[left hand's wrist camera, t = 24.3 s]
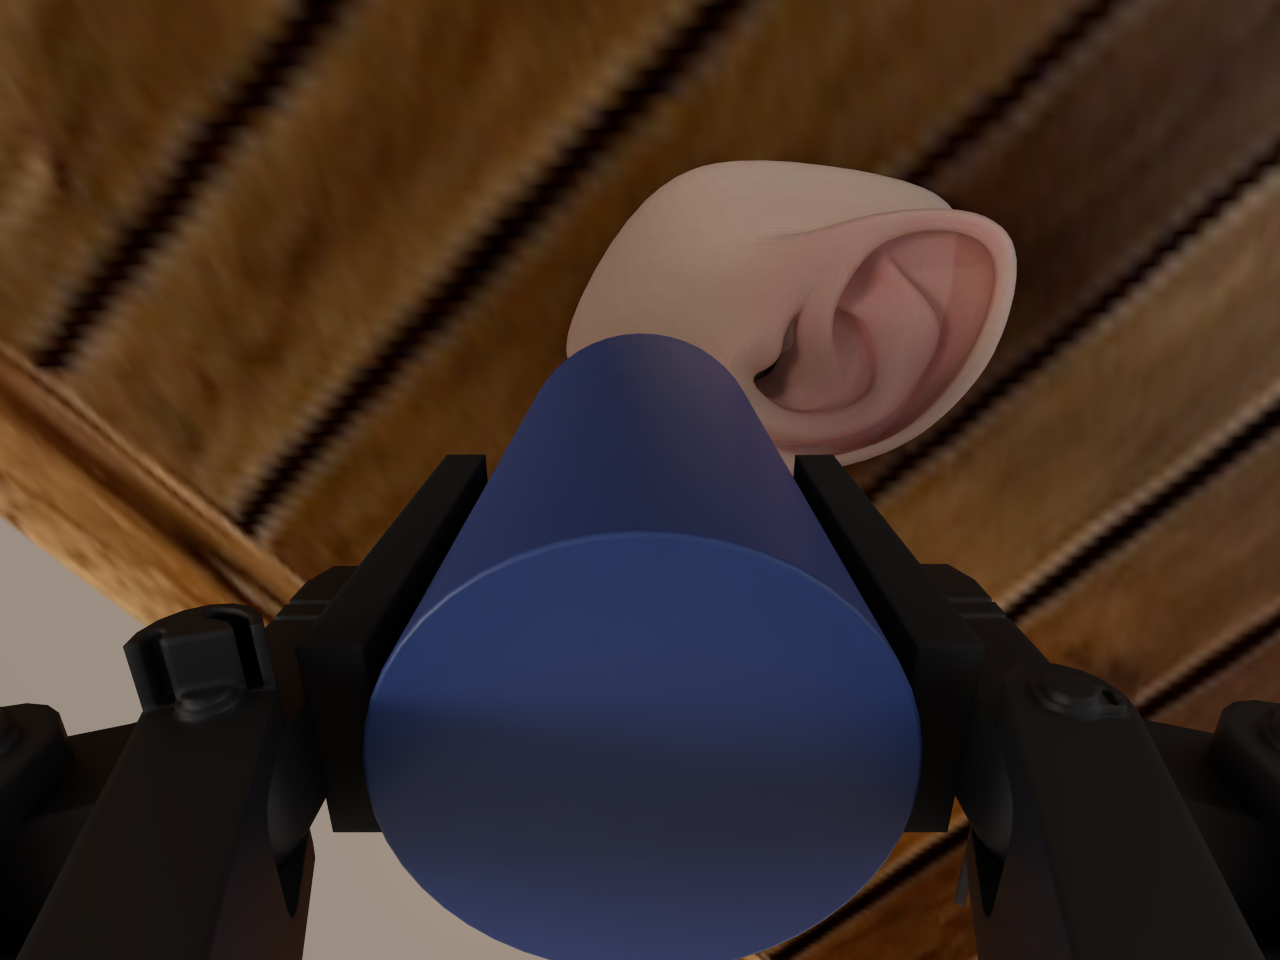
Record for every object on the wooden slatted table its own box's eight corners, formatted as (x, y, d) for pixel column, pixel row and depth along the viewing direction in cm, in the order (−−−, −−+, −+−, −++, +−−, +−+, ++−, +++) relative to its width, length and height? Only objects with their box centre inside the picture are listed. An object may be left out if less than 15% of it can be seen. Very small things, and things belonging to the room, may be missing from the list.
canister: (683, 285, 17) (760, 415, 6) (796, 485, 19) (1007, 855, 8) (479, 411, 18) (240, 708, 7) (605, 588, 20) (562, 1034, 9)
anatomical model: (529, 461, 22) (624, 68, 18) (545, 427, 26) (627, 93, 22) (912, 562, 24) (1075, 213, 20) (875, 515, 27) (1006, 214, 24)
